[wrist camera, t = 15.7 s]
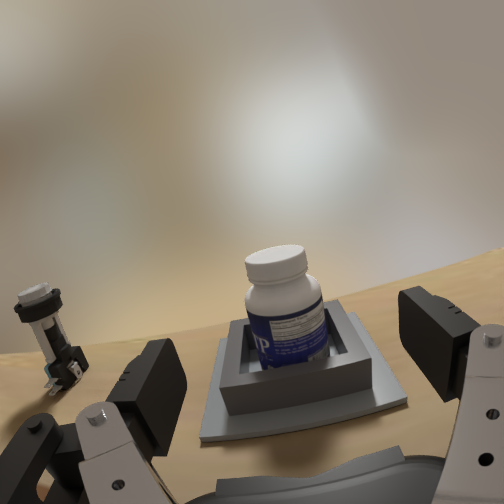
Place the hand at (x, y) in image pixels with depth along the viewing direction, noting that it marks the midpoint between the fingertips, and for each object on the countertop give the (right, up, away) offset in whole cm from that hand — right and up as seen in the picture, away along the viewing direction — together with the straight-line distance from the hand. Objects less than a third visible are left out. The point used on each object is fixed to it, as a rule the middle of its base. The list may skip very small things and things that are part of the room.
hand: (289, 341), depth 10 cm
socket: (+2, -6, +13) cm, 14 cm away
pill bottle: (+2, -6, +12) cm, 14 cm away
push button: (-20, -10, +16) cm, 28 cm away
